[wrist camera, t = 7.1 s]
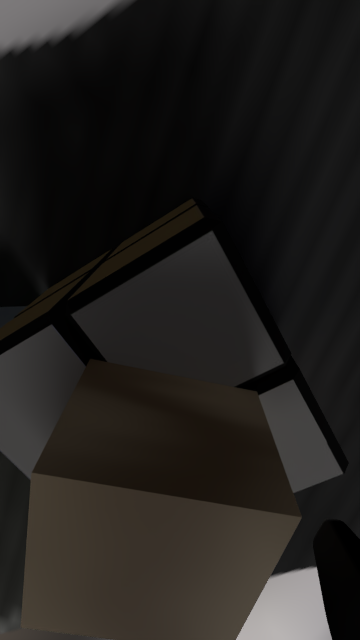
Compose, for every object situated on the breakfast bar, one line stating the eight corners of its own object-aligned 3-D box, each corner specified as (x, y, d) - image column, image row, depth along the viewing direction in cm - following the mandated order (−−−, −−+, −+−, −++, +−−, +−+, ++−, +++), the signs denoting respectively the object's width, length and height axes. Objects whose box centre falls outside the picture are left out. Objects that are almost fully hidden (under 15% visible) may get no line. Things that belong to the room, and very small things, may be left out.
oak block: (73, 482, 11) (20, 627, 8) (90, 358, 9) (31, 472, 6) (213, 505, 12) (227, 654, 8) (256, 391, 10) (301, 517, 6)
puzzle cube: (277, 342, 20) (357, 476, 11) (142, 409, 22) (115, 569, 13) (197, 193, 17) (217, 209, 8) (47, 288, 19) (-79, 389, 10)
